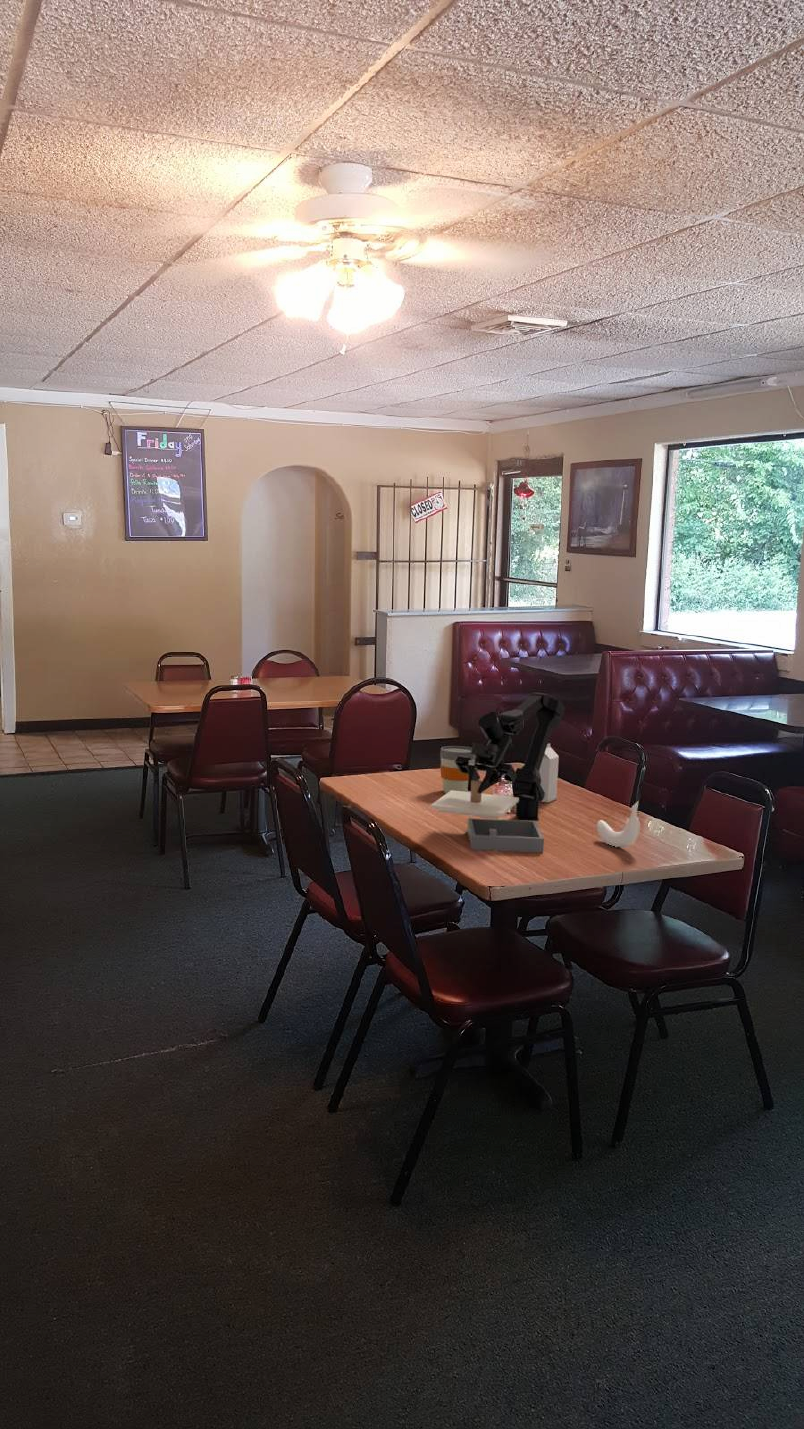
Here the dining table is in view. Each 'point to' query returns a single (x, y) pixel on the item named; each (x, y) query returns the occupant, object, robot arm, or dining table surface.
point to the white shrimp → (624, 836)
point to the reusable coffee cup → (454, 768)
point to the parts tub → (505, 835)
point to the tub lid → (475, 803)
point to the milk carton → (549, 774)
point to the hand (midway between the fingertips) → (473, 791)
